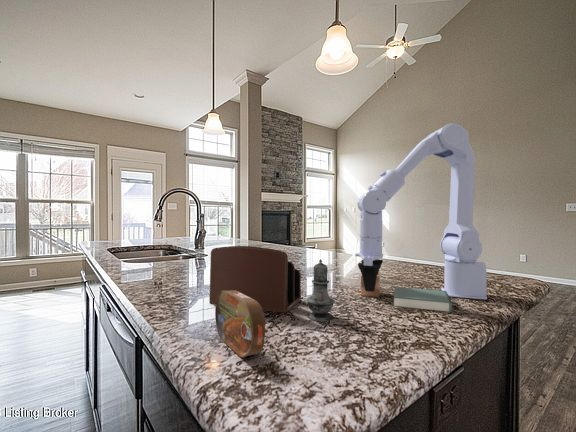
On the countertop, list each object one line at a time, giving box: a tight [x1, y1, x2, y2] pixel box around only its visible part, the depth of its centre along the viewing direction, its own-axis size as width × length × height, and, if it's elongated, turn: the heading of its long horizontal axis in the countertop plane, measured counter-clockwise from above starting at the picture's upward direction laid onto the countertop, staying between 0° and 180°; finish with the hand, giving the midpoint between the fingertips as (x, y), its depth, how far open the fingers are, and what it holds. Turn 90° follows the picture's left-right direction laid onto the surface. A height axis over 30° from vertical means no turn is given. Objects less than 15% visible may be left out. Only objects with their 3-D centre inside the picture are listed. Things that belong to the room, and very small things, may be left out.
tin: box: [214, 290, 267, 358], centre depth 51 cm, size 15×3×8 cm, turn 32°
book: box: [393, 286, 453, 313], centre depth 74 cm, size 12×10×2 cm
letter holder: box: [208, 245, 302, 314], centre depth 75 cm, size 10×20×14 cm, turn 69°
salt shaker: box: [305, 259, 335, 323], centre depth 64 cm, size 6×6×12 cm
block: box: [360, 273, 381, 298], centre depth 82 cm, size 4×4×5 cm
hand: (370, 288), depth 82 cm, fingers closed on block, 4 cm apart
